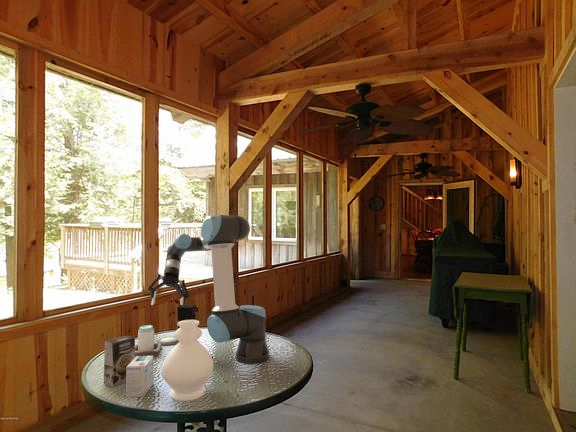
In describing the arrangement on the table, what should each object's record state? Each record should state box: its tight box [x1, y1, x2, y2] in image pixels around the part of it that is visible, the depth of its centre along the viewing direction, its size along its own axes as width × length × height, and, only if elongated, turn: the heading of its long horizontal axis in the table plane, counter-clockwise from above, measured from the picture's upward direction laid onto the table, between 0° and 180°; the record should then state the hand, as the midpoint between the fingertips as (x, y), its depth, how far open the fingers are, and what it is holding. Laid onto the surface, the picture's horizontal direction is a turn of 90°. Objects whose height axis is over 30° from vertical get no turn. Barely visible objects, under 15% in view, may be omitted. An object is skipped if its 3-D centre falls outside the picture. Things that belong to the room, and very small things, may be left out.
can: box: [137, 324, 155, 352], centre depth 174 cm, size 7×7×12 cm
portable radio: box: [176, 303, 197, 345], centre depth 171 cm, size 8×6×25 cm
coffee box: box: [103, 335, 136, 388], centre depth 142 cm, size 9×6×16 cm
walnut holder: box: [135, 342, 162, 357], centre depth 174 cm, size 12×12×2 cm
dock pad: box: [155, 335, 177, 347], centre depth 190 cm, size 12×12×1 cm
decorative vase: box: [161, 320, 214, 402], centre depth 132 cm, size 18×18×25 cm
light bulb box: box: [125, 356, 154, 398], centre depth 134 cm, size 11×7×11 cm, turn 5°
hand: (166, 307), depth 177 cm, fingers open, 13 cm apart
